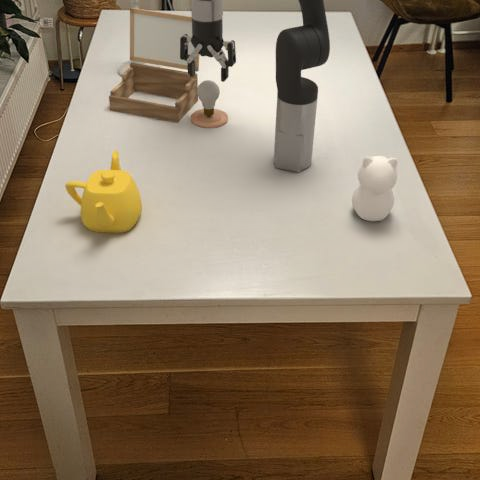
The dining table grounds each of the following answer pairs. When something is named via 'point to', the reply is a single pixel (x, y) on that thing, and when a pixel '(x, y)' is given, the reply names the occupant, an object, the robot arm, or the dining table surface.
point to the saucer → (209, 119)
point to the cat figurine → (375, 188)
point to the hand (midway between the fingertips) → (208, 78)
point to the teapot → (108, 199)
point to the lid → (159, 38)
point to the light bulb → (208, 96)
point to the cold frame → (155, 92)
